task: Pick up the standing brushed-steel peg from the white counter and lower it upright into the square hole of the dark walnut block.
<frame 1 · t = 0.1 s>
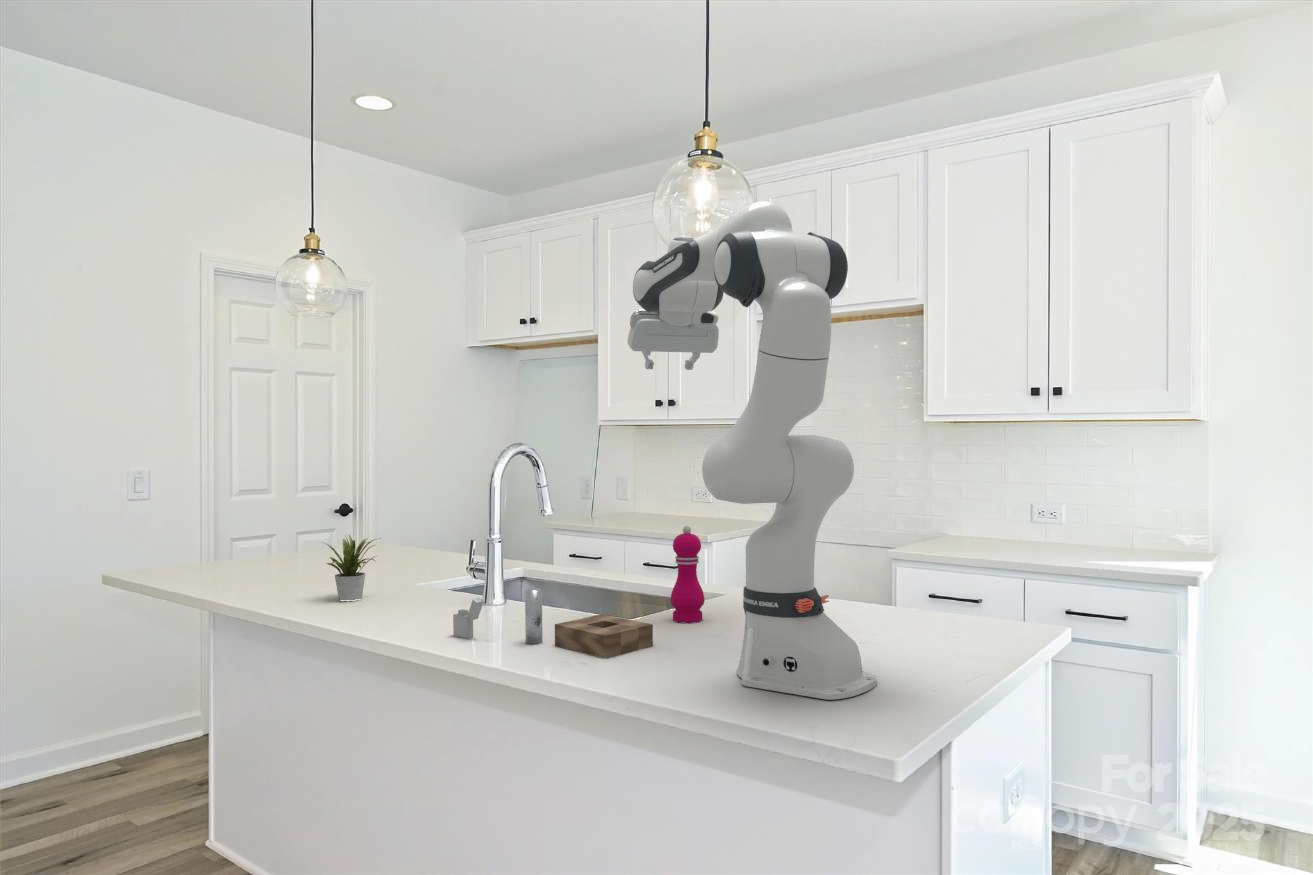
hand: (668, 368, 193), 54 cm above the table, tool tilted 30°, fingers open, 8 cm apart
steel peg: (534, 642, 164), on the table
lighter: (468, 638, 169), on the table
walnut hole block: (603, 645, 161), on the table
pepper mill: (687, 621, 182), on the table
house plant: (355, 600, 209), on the table
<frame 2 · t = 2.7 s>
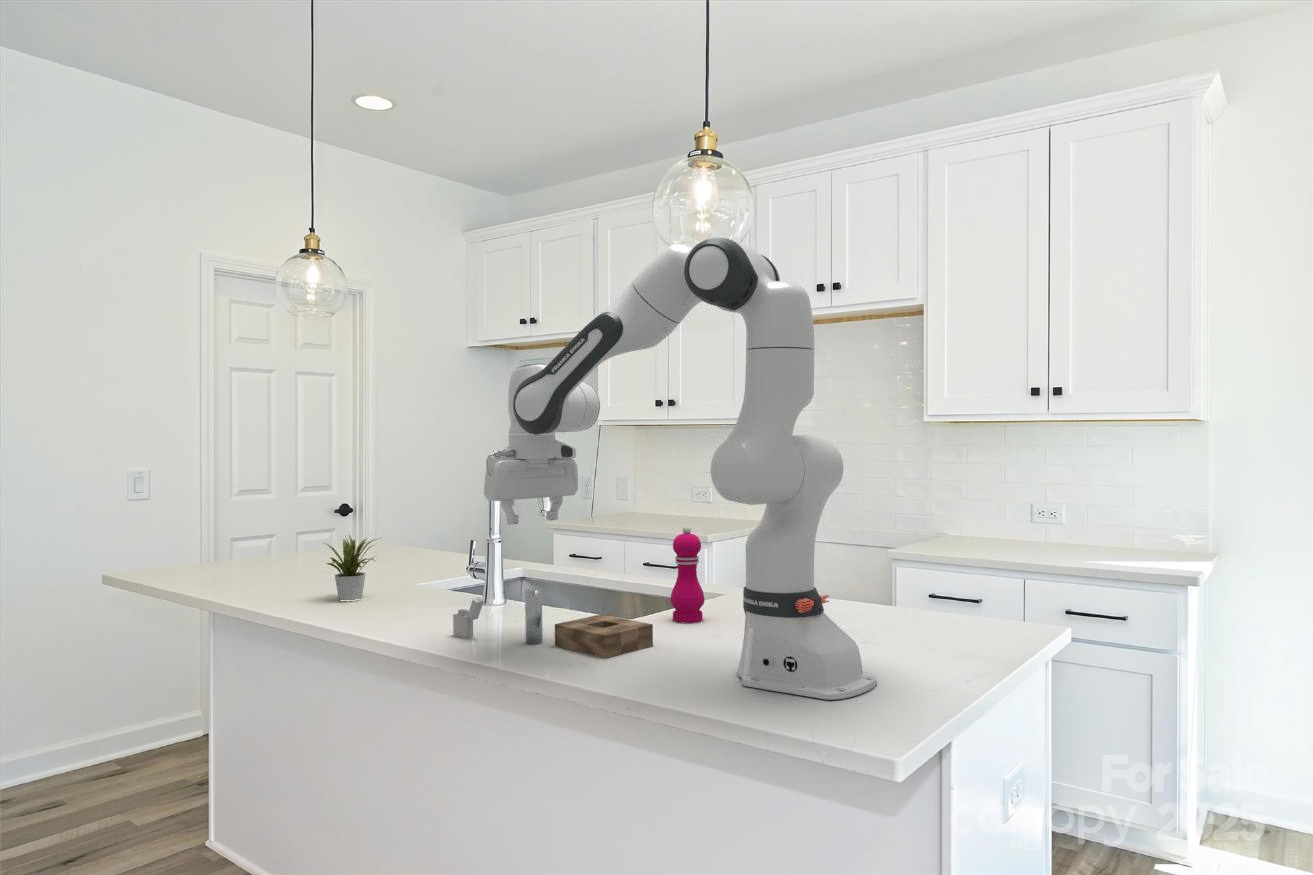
hand: (532, 522, 164), 23 cm above the table, tool pointing down, fingers open, 8 cm apart
nothing on the table moved.
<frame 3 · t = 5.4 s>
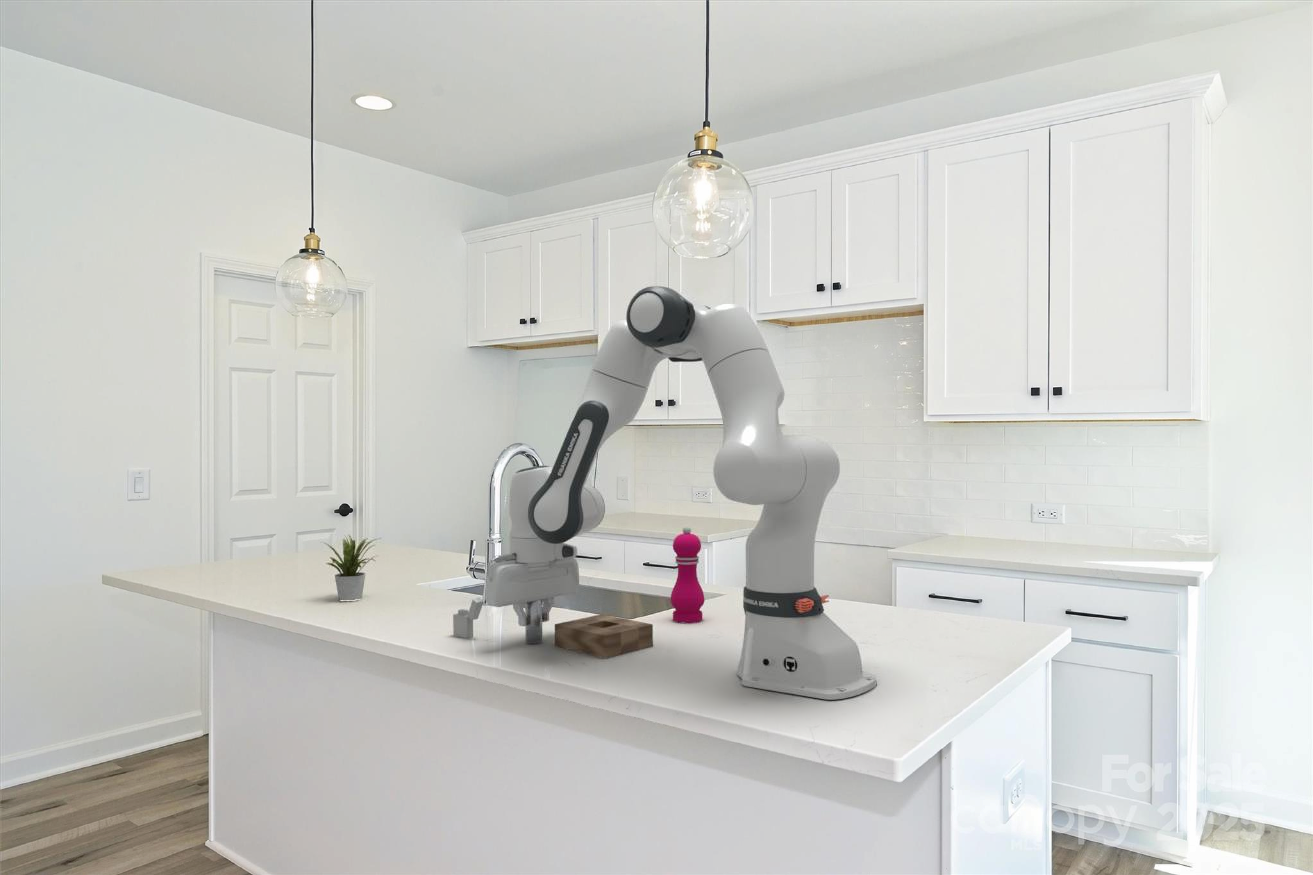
hand: (533, 623, 164), 4 cm above the table, tool pointing down, fingers closed on steel peg, 3 cm apart
steel peg: (534, 642, 164), on the table, touching gripper
everything else where it was.
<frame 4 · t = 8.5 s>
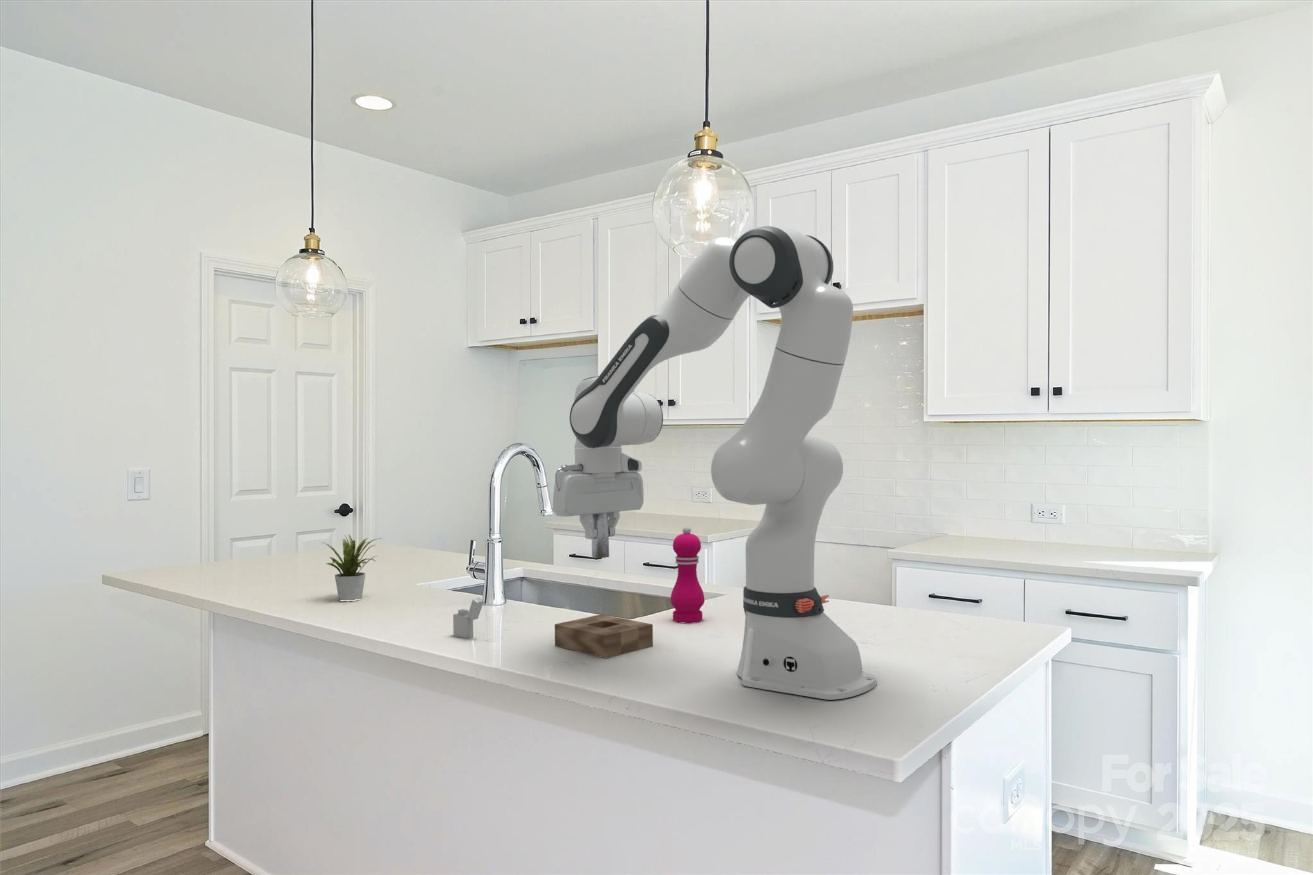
hand: (600, 537, 161), 20 cm above the table, tool pointing down, fingers closed on steel peg, 3 cm apart
steel peg: (600, 556, 161), point 17 cm above the table, touching gripper
everything else where it was.
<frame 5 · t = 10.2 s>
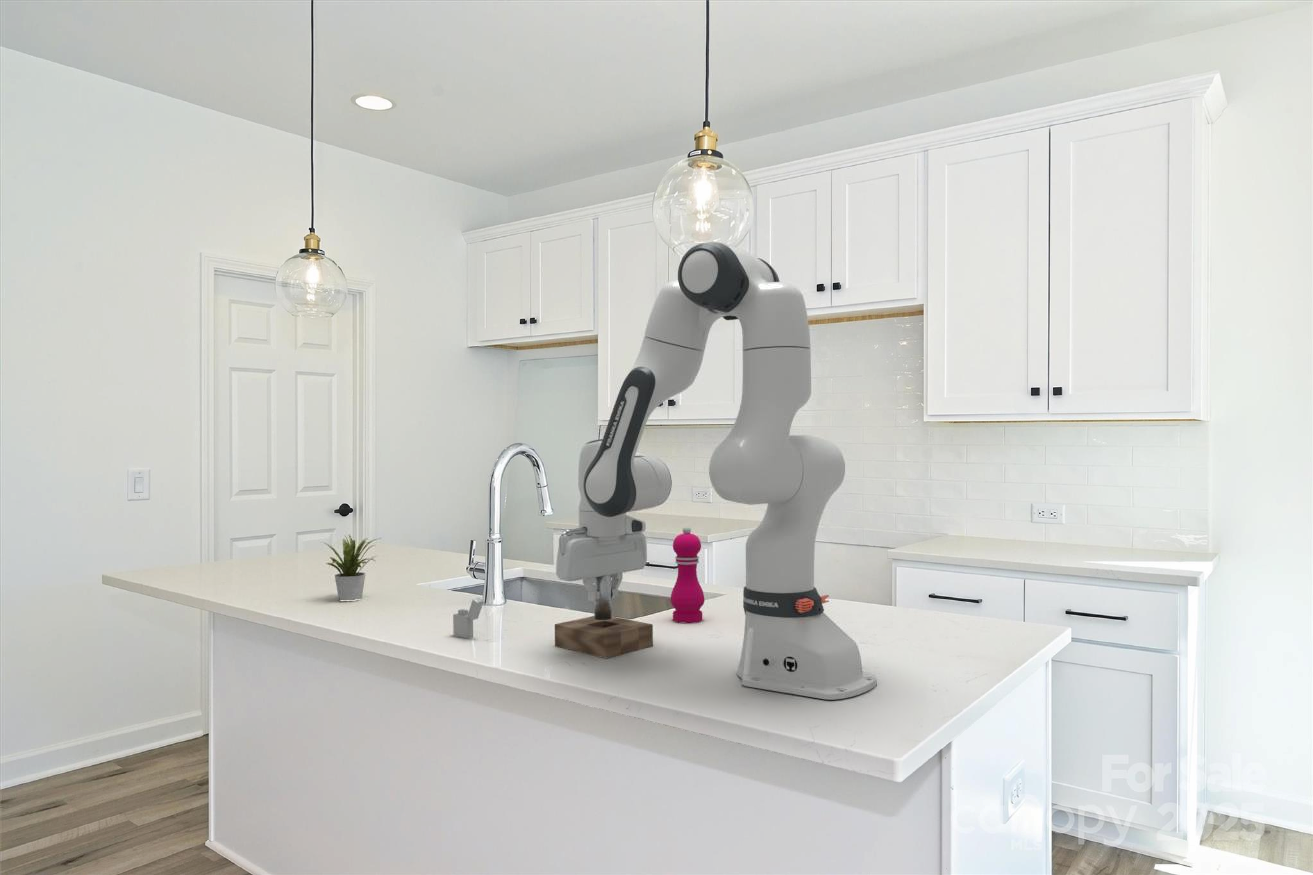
hand: (603, 599, 161), 9 cm above the table, tool pointing down, fingers closed on steel peg, 3 cm apart
steel peg: (603, 618, 161), point 5 cm above the table, touching gripper
everything else where it was.
when the fingers open (5 cm above the table, at t = 11.6 s): steel peg drops 1 cm, resting in walnut hole block.
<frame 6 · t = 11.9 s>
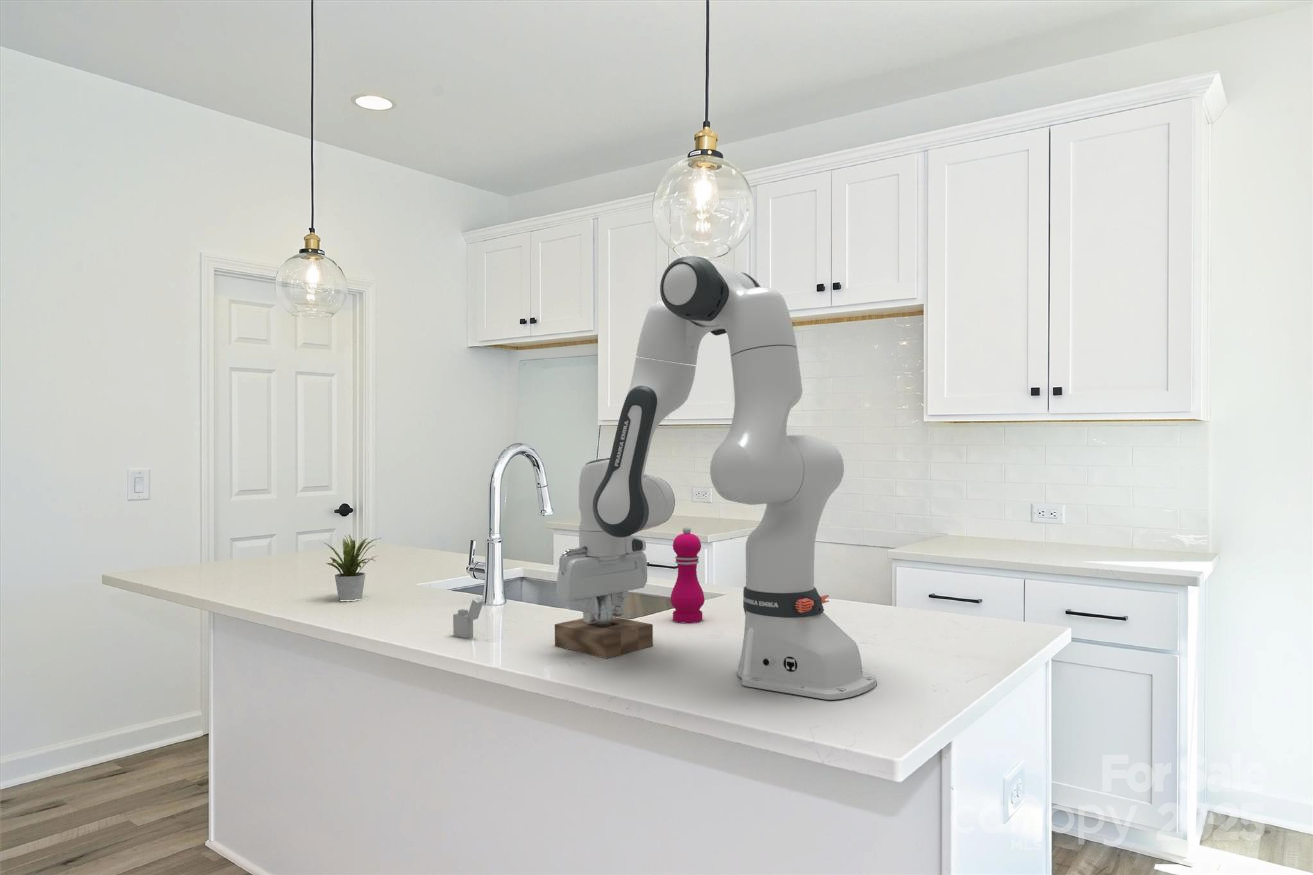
hand: (603, 618, 161), 5 cm above the table, tool pointing down, fingers open, 6 cm apart
steel peg: (603, 645, 161), resting in walnut hole block
everything else where it was.
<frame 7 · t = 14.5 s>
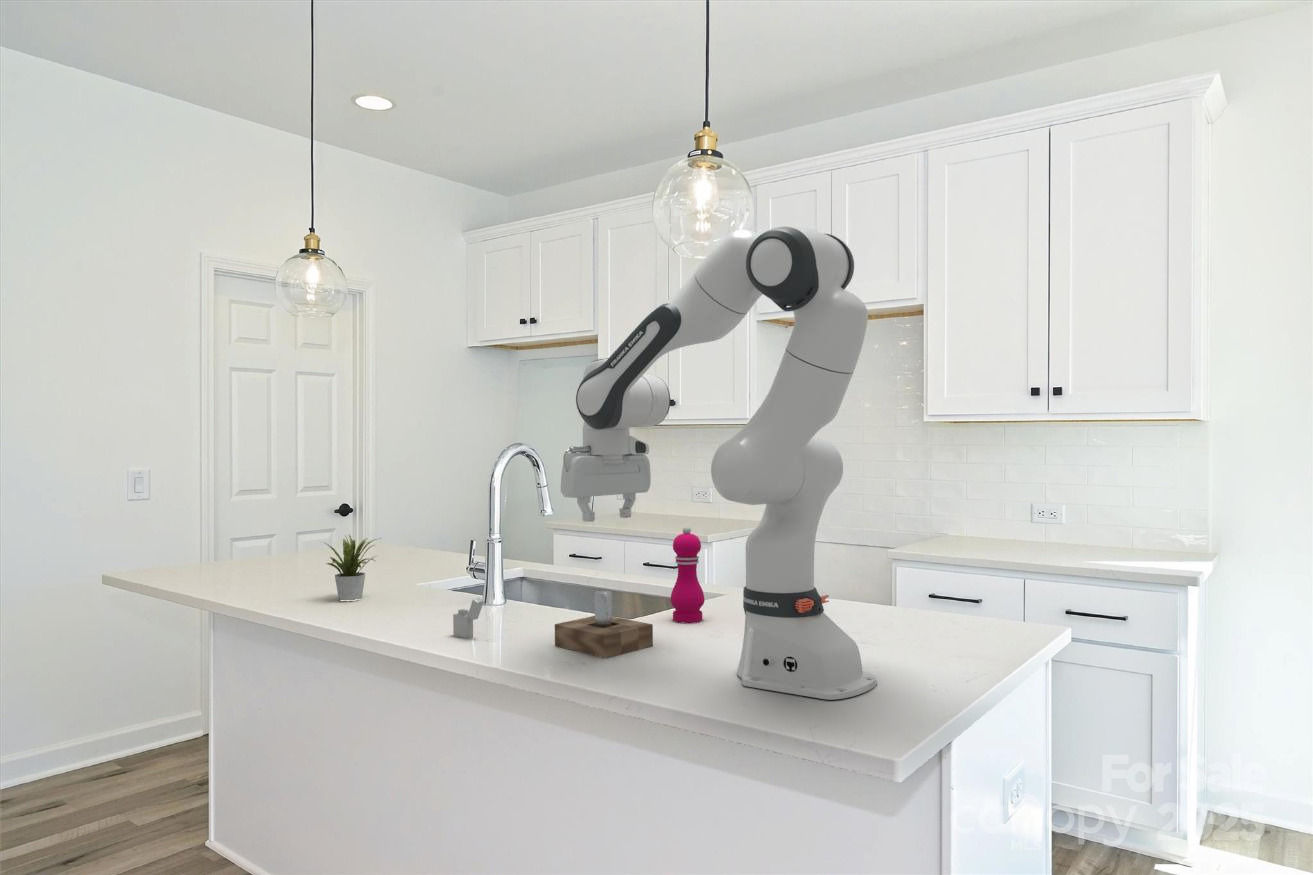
hand: (607, 519, 161), 24 cm above the table, tool pointing down, fingers open, 8 cm apart
nothing on the table moved.
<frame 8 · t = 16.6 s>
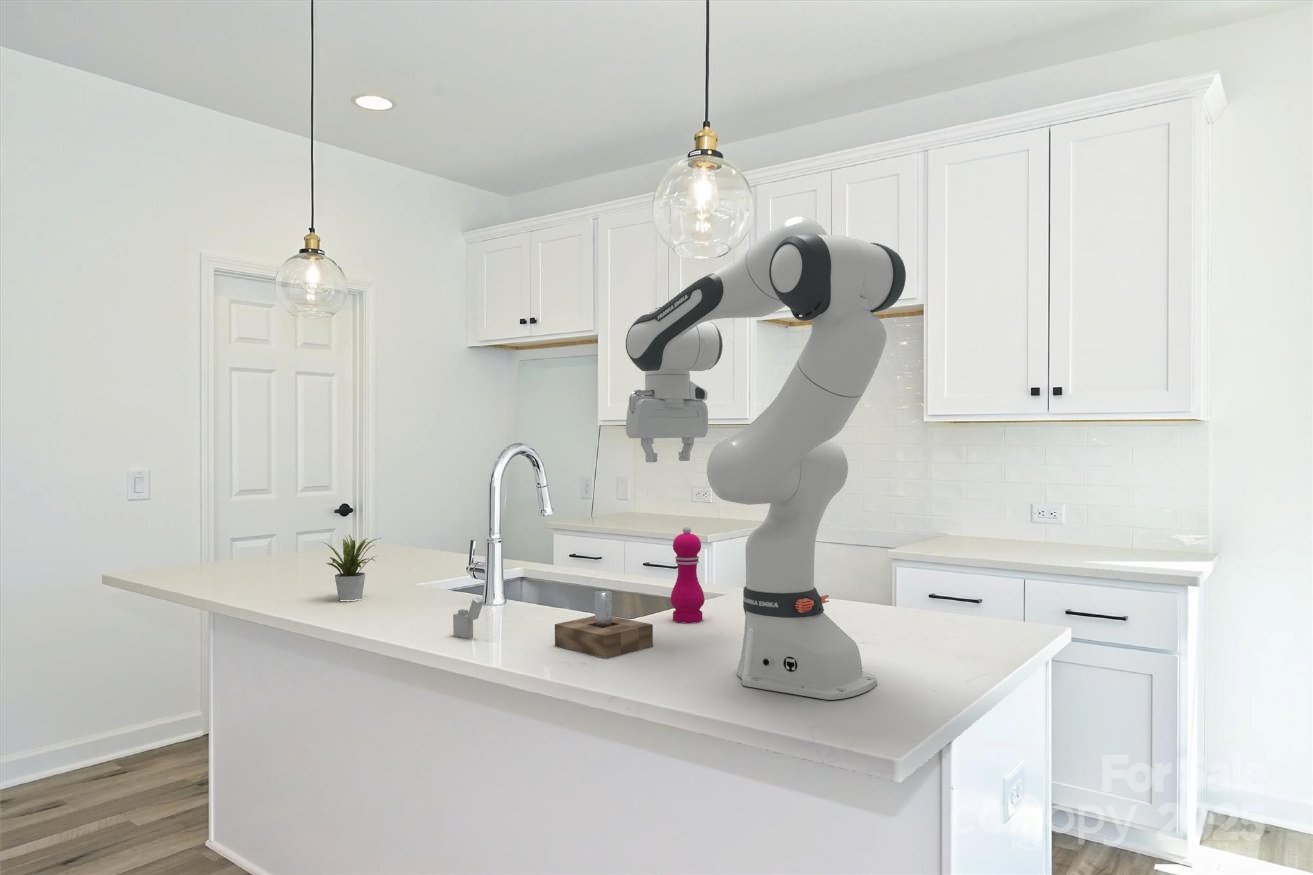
hand: (668, 461, 168), 34 cm above the table, tool pointing down, fingers open, 8 cm apart
nothing on the table moved.
at the end: steel peg 0.0 cm off-centre on the walnut hole block, point 0.0 cm above the walnut hole block's base; steel peg tilted 0° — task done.
